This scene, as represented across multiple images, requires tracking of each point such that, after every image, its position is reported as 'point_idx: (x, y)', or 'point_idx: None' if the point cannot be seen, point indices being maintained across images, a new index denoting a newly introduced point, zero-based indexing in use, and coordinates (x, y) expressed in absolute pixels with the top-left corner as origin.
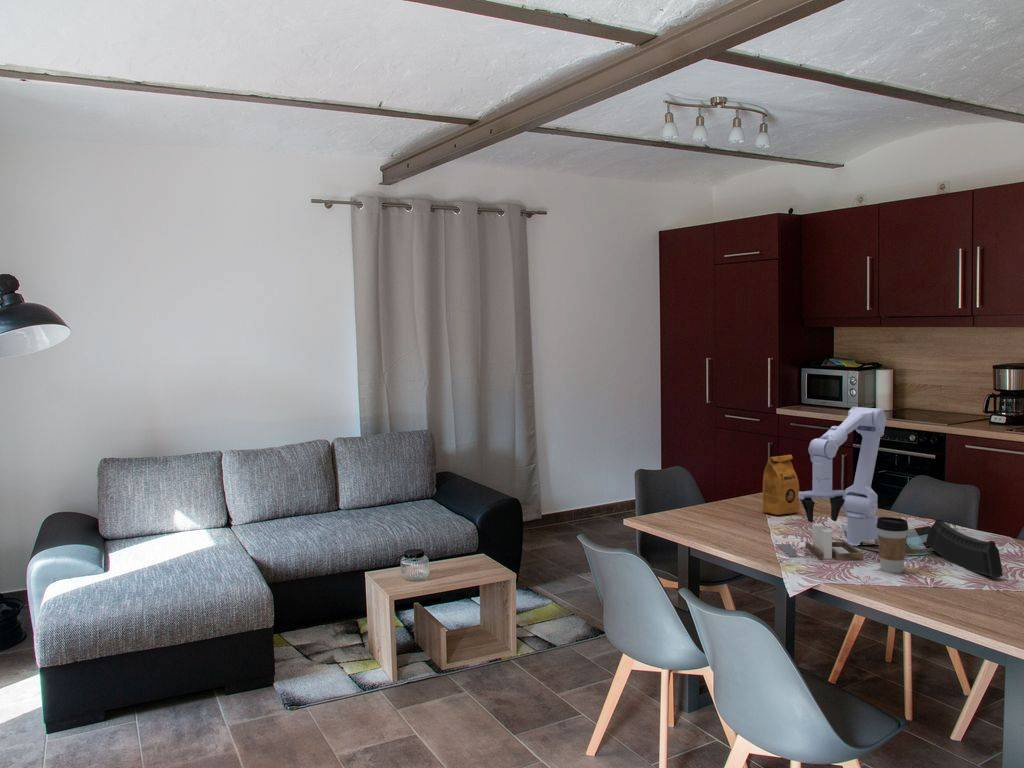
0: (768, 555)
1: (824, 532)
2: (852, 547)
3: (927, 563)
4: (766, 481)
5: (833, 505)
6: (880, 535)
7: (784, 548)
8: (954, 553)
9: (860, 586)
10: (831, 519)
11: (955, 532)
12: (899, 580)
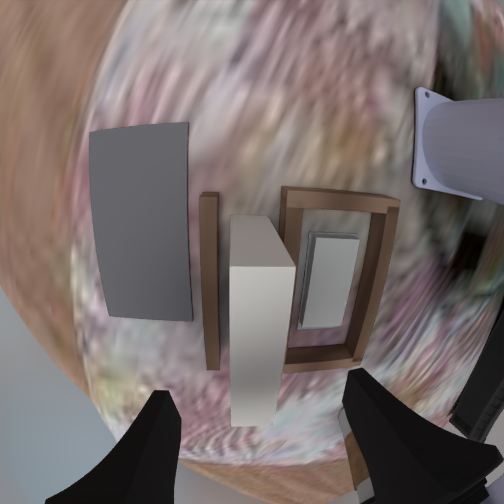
0: (51, 281)
1: (233, 422)
2: (375, 296)
3: (455, 355)
4: None
5: (391, 474)
6: (357, 489)
7: (106, 203)
8: (494, 361)
9: (237, 469)
10: (349, 372)
11: None
12: (327, 448)
